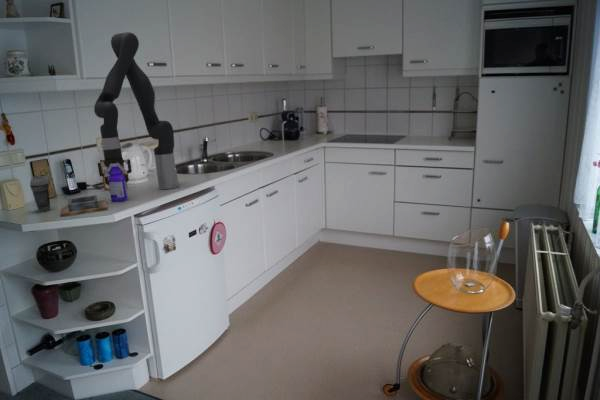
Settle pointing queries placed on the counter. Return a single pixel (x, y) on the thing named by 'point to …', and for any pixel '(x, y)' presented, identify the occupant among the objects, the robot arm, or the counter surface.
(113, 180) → the bottle
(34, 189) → the beverage cup
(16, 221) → the counter surface
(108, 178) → the baking soda box
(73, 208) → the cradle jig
